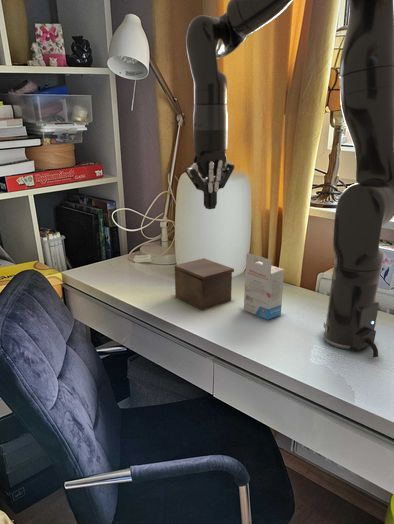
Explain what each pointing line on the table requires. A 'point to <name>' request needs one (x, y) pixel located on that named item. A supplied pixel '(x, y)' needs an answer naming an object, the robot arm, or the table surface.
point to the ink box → (263, 287)
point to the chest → (203, 289)
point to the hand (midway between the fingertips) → (210, 208)
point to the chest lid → (204, 268)
